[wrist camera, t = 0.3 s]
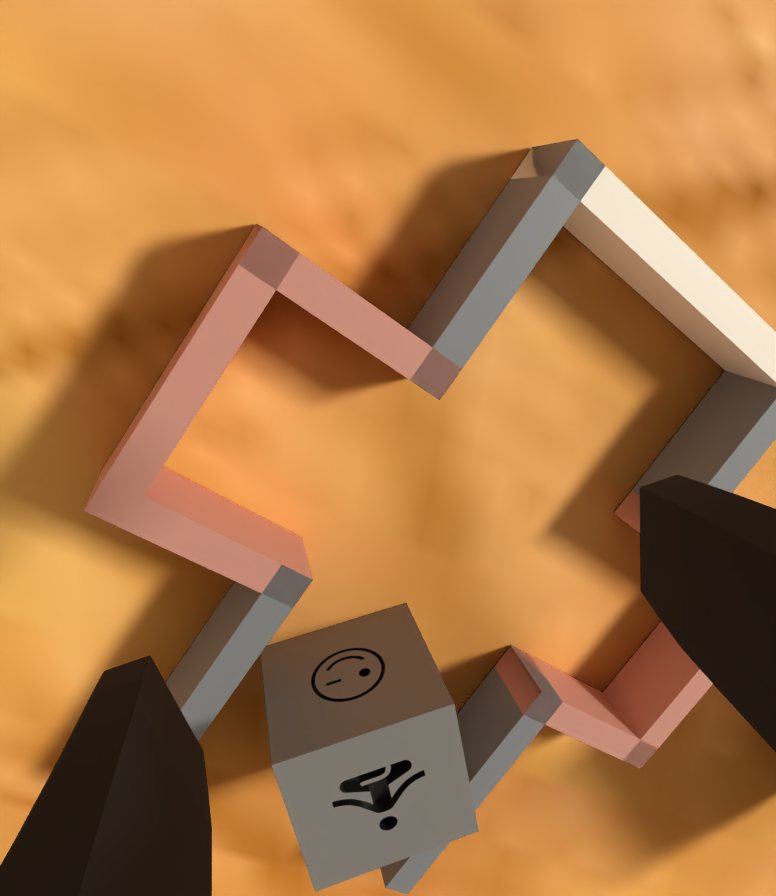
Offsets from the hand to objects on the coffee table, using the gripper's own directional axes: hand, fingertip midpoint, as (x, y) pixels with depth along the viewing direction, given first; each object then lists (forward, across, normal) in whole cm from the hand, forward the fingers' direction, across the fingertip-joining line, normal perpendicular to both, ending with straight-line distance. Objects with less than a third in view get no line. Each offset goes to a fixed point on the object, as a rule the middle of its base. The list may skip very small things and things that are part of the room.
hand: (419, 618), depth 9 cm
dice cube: (+10, +2, +11) cm, 15 cm away
